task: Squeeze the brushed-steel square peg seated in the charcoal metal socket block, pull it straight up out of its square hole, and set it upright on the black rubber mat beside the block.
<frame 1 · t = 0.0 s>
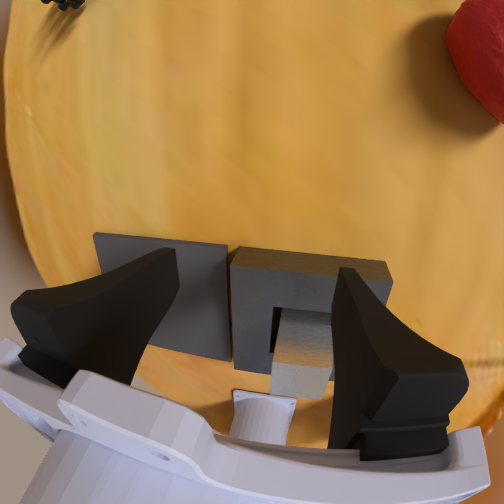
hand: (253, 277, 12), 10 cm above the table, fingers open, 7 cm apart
rubber mat: (163, 299, 28), on the table
pomegranate: (485, 63, 12), on the table
socket block: (305, 312, 25), on the table
steel peg: (305, 311, 25), resting in socket block
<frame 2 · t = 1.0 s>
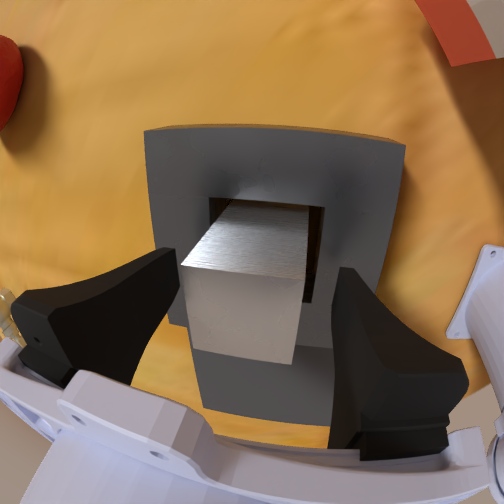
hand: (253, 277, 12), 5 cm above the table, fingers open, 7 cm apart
rubber mat: (273, 379, 23), on the table
pomegranate: (10, 82, 15), on the table
socket block: (271, 229, 17), on the table
steel peg: (271, 229, 17), resting in socket block
valve: (27, 318, 31), on the table
french fries container: (478, 24, 8), on the table
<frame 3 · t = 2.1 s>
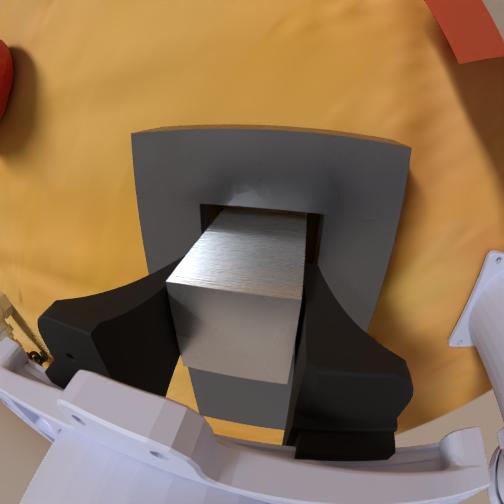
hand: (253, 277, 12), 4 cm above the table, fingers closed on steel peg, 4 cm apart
rubber mat: (270, 387, 22), on the table
pomegranate: (1, 84, 14), on the table
socket block: (267, 236, 16), on the table
steel peg: (267, 235, 16), resting in socket block, touching gripper
valve: (22, 322, 30), on the table
french fries container: (484, 21, 7), on the table
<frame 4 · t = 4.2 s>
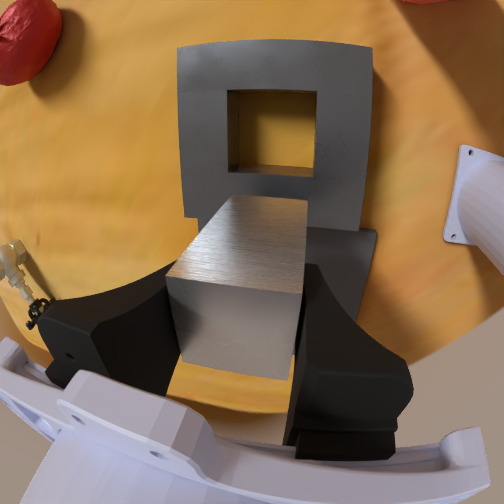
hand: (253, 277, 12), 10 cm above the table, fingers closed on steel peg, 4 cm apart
rubber mat: (282, 295, 25), on the table
pomegranate: (45, 39, 17), on the table
socket block: (276, 128, 19), on the table
steel peg: (268, 231, 16), point 6 cm above the table, touching gripper
valve: (34, 270, 33), on the table
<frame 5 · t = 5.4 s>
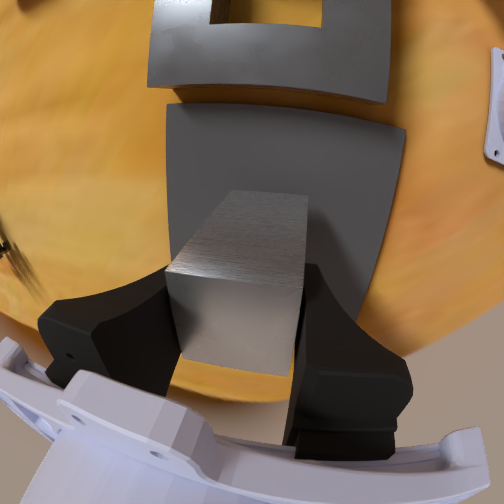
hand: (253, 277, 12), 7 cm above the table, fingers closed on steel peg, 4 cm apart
rubber mat: (273, 219, 18), on the table
socket block: (275, 0, 11), on the table
steel peg: (268, 227, 16), point 2 cm above the table, touching gripper
when the fingers open (6 cm above the table, at t = 6.3 s): steel peg drops 1 cm, resting on rubber mat.
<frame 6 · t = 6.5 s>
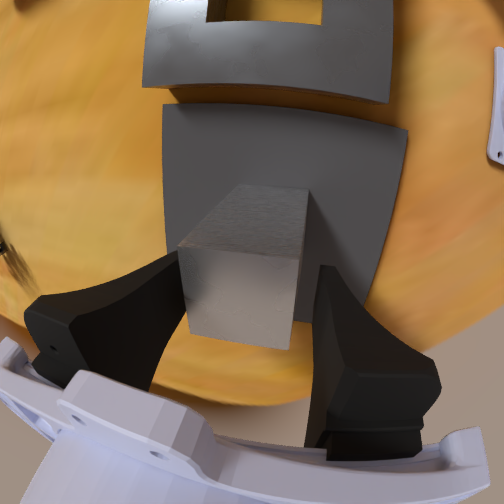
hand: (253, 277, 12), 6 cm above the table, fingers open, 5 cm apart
rubber mat: (272, 222, 18), on the table
steel peg: (272, 219, 17), point 1 cm above the table, touching rubber mat
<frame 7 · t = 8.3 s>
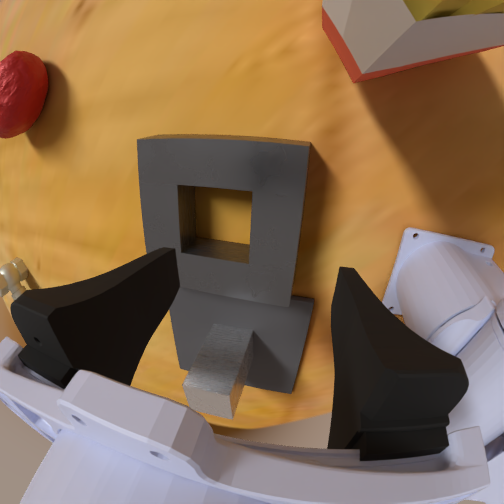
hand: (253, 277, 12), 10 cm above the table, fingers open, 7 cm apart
rubber mat: (235, 340, 29), on the table
pomegranate: (36, 90, 21), on the table
socket block: (226, 210, 23), on the table
steel peg: (234, 341, 28), point 1 cm above the table, touching rubber mat
valve: (34, 285, 37), on the table
french fries container: (400, 40, 14), on the table
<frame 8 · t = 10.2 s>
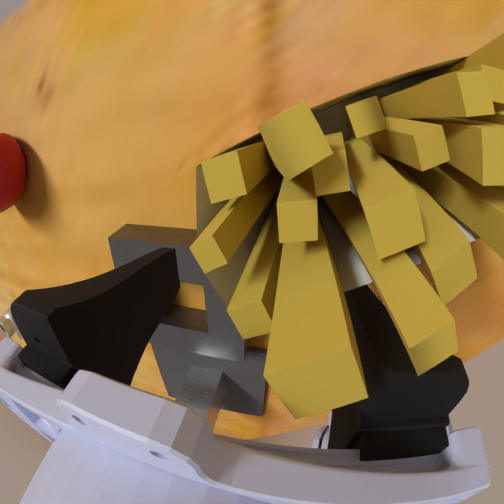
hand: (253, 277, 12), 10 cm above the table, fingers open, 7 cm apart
rubber mat: (210, 376, 33), on the table
pomegranate: (16, 164, 25), on the table
socket block: (189, 286, 27), on the table
steel peg: (208, 378, 33), point 1 cm above the table, touching rubber mat
valve: (37, 324, 40), on the table
french fries container: (340, 126, 18), on the table
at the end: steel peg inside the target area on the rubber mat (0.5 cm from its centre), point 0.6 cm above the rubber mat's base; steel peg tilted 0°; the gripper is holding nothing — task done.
